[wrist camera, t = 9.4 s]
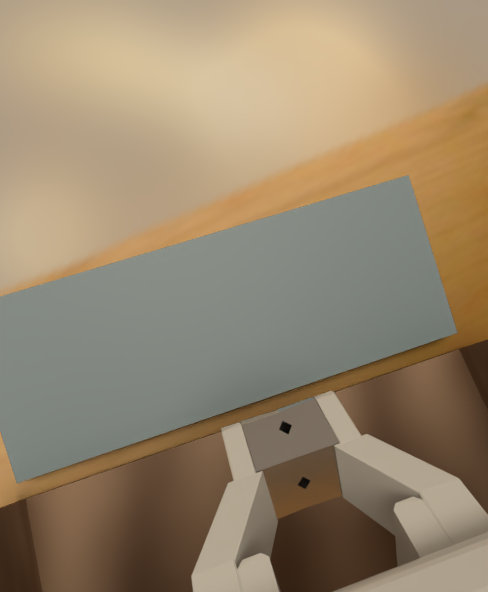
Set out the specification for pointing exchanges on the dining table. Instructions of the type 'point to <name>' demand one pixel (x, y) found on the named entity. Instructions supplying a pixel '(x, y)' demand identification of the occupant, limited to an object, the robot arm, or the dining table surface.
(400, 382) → the crate
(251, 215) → the dining table surface
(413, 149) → the dining table surface
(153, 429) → the tailgate
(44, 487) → the dining table surface
